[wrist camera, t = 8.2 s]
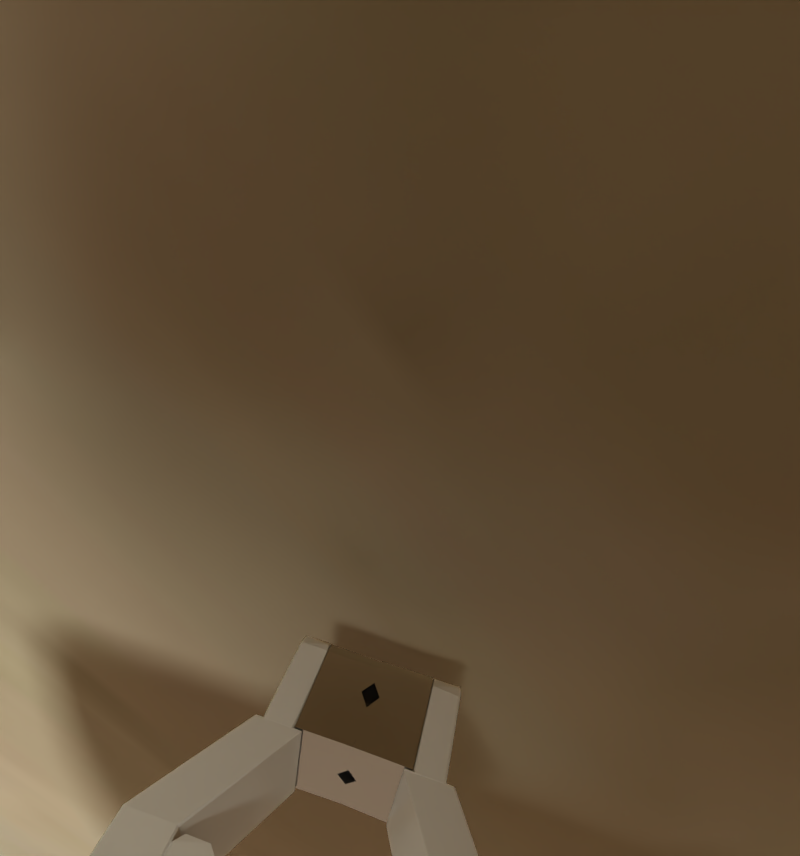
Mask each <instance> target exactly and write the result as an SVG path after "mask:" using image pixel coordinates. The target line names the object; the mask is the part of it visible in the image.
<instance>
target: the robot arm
mask: <svg viewBox="0 0 800 856" xmlns="http://www.w3.org/2000/svg"><path fill="white" fill-rule="evenodd" d="M460 698H461V689H460V687H459V686H456V685H452V684H449V683H446V682H443V681H440V680H437V679H433V677H430V676H427V675H424V674H421V673H418V672H415V671H412V670H408V669H405V668H402V667H399V666H396V665H393V664H390V663H386V662H383V661H382V662H381V661H378V660H375V659H372V658H370V657H367V656H364V655H361V654H358V653H355V652H353V651H350V650H347V649H344V648H341V647H338V646H335V645H333V644H331V643H328V642H325V641H322V640H319V639H316V638H313V637H310V636H307V635H306V637H305V638H304V639H303V640H302V642H301V643H300V645H299V647H298V649H297V651H296V653H295V655H294V657H293V659H292V661H291V663H290V665H289V667H288V669H287V671H286V673H285V675H284V677H283V679H282V681H281V683H280V685H279V687H278V689H277V690H276V692H275V694H274V696H273V698H272V700H271V702H270V704H269V706H268V708H267V710H266V712H265V714H264V716H260V715H257V714H255V715H254V716H252V717H251V718H249V719H248V720H246V721H245V722H243V723H242V724H240V725H239V726H237V727H236V728H235V729H233V730H232V731H230V732H229V733H227V734H226V735H224V736H223V737H221V738H220V739H218V740H217V741H215V742H214V743H212V744H211V745H210V746H208V747H207V748H205V749H204V750H202V751H201V752H199V753H198V754H196V755H195V756H193V757H192V758H190V759H189V760H187V761H186V762H185V763H183V764H182V765H180V766H179V767H177V768H176V769H174V770H173V771H171V772H170V773H168V774H167V775H165V776H164V777H162V778H161V779H160V780H158V781H157V782H155V783H154V784H152V785H151V786H149V787H148V788H146V789H145V790H143V791H142V792H140V793H139V794H137V795H136V796H135V797H133V798H132V799H130V800H129V801H127V802H126V803H124V804H123V805H122V807H121V808H120V810H119V811H118V813H117V814H116V816H115V817H114V819H113V821H112V822H111V824H110V825H109V827H108V828H107V830H106V831H105V833H104V834H103V836H102V837H101V839H100V840H99V842H98V844H97V845H96V847H95V848H94V850H93V851H92V853H91V854H90V856H226V855H227V854H228V853H229V852H230V851H231V850H232V849H233V848H234V847H235V846H236V845H237V844H239V843H240V842H241V841H242V840H243V839H244V838H245V837H246V836H247V835H248V834H249V833H250V832H251V831H253V830H254V829H255V828H256V827H257V826H258V825H259V824H260V823H261V822H262V821H263V820H264V819H265V818H267V817H268V816H269V815H270V814H271V813H272V812H273V811H274V810H275V809H276V808H277V807H278V806H280V805H281V804H282V803H283V802H284V801H285V800H286V799H287V798H288V797H289V796H290V795H291V794H292V793H294V791H295V788H297V789H300V790H303V791H306V792H308V793H311V794H314V795H317V796H320V797H323V798H326V799H329V800H332V801H334V802H337V803H340V804H343V805H345V806H348V807H350V808H352V809H355V810H357V811H360V812H362V813H364V814H367V815H369V816H372V817H374V818H377V819H379V820H381V821H384V822H386V823H387V825H386V827H387V832H388V837H389V843H390V848H391V853H392V856H479V855H478V853H477V850H476V847H475V844H474V841H473V838H472V835H471V832H470V829H469V826H468V823H467V821H466V818H465V815H464V812H463V809H462V806H461V803H460V800H459V797H458V794H457V792H456V789H455V787H454V786H452V785H450V784H447V777H448V771H449V765H450V759H451V753H452V747H453V741H454V734H455V728H456V722H457V716H458V710H459V704H460ZM341 802H342V803H341Z"/></svg>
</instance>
